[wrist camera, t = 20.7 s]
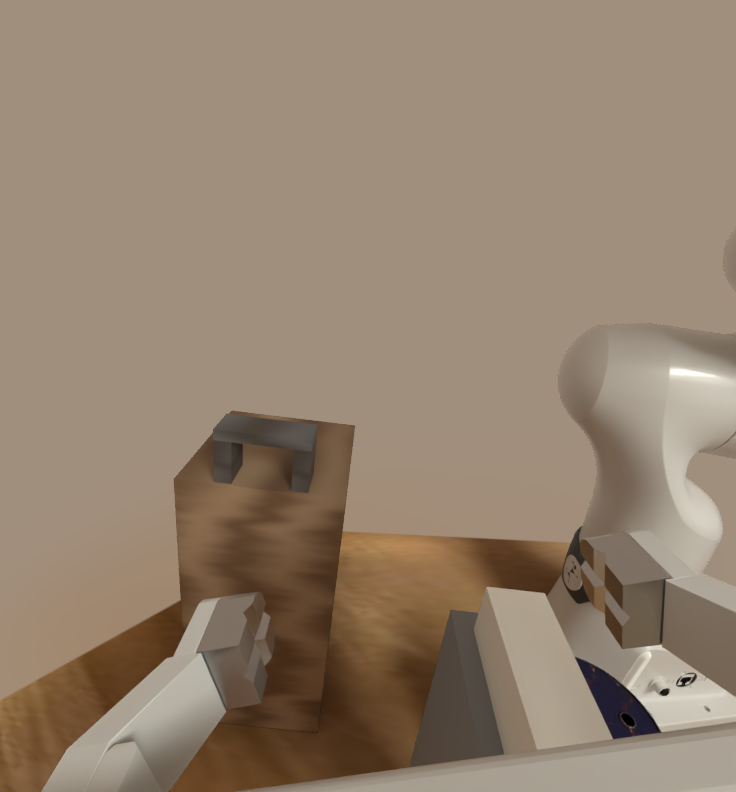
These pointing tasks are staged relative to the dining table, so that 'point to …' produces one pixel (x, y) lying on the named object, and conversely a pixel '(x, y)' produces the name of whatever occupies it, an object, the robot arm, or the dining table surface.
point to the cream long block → (533, 675)
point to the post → (457, 702)
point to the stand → (269, 545)
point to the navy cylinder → (617, 704)
